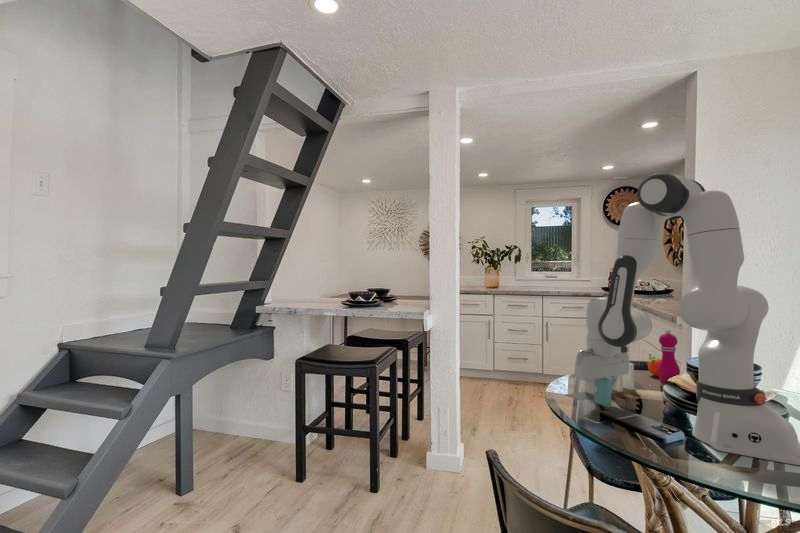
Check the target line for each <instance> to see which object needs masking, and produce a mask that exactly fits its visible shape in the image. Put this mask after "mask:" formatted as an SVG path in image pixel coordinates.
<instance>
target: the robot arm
mask: <svg viewBox="0 0 800 533" xmlns="http://www.w3.org/2000/svg"><path fill="white" fill-rule="evenodd" d="M636 194H637V196H636V197H637V200H638V201H637V202H634V203H633V202H632V203H631V204H628V205H627V206H626V207H625V208H624V210H623V212H622V215H621V220H620V222H619V223H620V224H619V227H618V233H617V244H616V251H615V252H616V253H615V258H614V265H613V269H612V273H611V276H610V277H611V278H610V283H609V288H608V295H607V296H606V297H597V298H593V299H591V300H589V301H588V303H587V306H586V313H585V314H586V320H585V321H586V323H585V324H586V328H587V334H586V349H580V351H578V353H577V354H576V359H575V364H574V377H575V378H576V379H577V380H580V381H584V382H585V381H586V382H587V384H588V386H589V391H590V392H591V393H597V387H595V385H594V383H595V379H600V378H606V377H610V378H611V390H615V384H616V382H617V380H618V376H619V375H626V374H628V372H629V363H630V355H629V354H628V353H629V352H630V346H628V345H629V344H631V343H634V342H637V341H639V340H643V339H644V338H646V337H648V336H649V335H650V333H651V331H652V329H653V328H652V327H653V325H652V324H653V323H652V320H651V318H650V316H649V315H648V314H647V313H645V311H643V310H640V309H637V308H633V307H632V306H633V302H634V294H635V290H636V289H635V288H636V285H637V282H638V280H639V278H640V277H641V275H642V274H644V272H646V271H647V270H648V269H649V268H650V267H652V266H653V265H654V264H655V263H656V262H657V258H658V255H659V250H660V245H661V233H662V229H663V228H662V226H663V224H664V223H665V222H666V221H667V220H668V221H676V220H679V219H683V220H684V223H685V228H686V237H687V244H688V251H689V252H688V253H689V260H690V261H689V262H690V264H689V265H690V269H689V277H688V282H687V288H686V291H685V292H684V294H683V296H682V297H681V299H679V303H678V313H679V316H680V318H681V320H682V321H683V322H684V323H686V325H688V326H690V327H692V328H694V329H697V330H702V331H706V332H707V333H706V334H705V335H706V336H705V338H704V341H703V343H702V344H701V346H700V347H699V349H698V351H697V358H698V360H697V361H698V362H697V363H698V364H697V366H698V380H696V383H695V384H696V385H695V390H696V391H695V395H696V401H697V411H696V412H697V413H696V417H695V418H696V419H695V423H694V425H693V429H692V432H691V434H692V436H693V437H695V439H697V440H699V441H701V442H703V443H705V444H708V446H711V447H712V448H713V449H715V450H717V451H719V452H724V453H730V454H734V455H735V454H736V455H741V456H746V457H751V458H758V459H762V460H763V459H764V460H766V461H767V460H768V461H774V462H778V463H783V464H788V465H795V466H800V442H799V437H798V435H797V434H798V433H797V432H796V429H795V427H794V426H793V424H792V423H791V422H790V421H788V419H786V418H784V417H783V416H782V415H780V414H779V413H777V411H775V410H774V409H773V408H771V407H769V406H768V405H766V400H767V396H766V393H765V391H764V389H760V388H758V387H756V386H755V382H754V381H755V380H754V377H755V376H754V373H755V372H754V369H755V368H754V367H755V366H754V357H755V351H756V350H755V349H756V346H757V341H758V337H759V334H760V330H761V326H762V323H763V320H764V319H765V318H766V317H767V315H768V312H769V301H768V300H767V298H766V297H765V296H764V294H762V293H761V292H760V291H759V290H755V289H754V288H750V287H747V286H744V285H738V278H739V273H740V270H741V267H742V265H743V264H744V262H745V254H744V248H743V241H742V233H741V228H740V223H739V219H738V214H737V212H736V208H735V205H734V203H733V201H732V199H731V196H730V195H728V194H727V193H726V192H724V191H720V190H716V189H715V190H706V189H705V186H703V185H702V184H701V183H700V182H698V181H696V180H693V179H689V178H688V177H685V176H682V175H678V174H671V173H667V172H660V173H655V174H652V175H649V176H648V177H646V178H645V179H644V180H642V182H640V184H639V186H638V188H637V192H636Z"/></svg>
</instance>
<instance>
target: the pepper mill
mask: <svg viewBox="0 0 800 533" xmlns="http://www.w3.org/2000/svg"><path fill="white" fill-rule="evenodd" d="M664 332H665V333H664V334H660V336H659V338H658V342H659V344H660V350H661V354H662V355H661V359H660V360H661V362H660V363H659V365H658V372H659V373H660V374H661V376H658V379H659V381H660V382H664V383H667V382H666V381H667V380H668V379H669V378H670V377H673V376H676V375H678V376H680V375H681V374H680V373H681V369H680V366H679V365H678V363H677V361H676V355H675V352H676V351H677V347H676V346H677V345H678V338H677V337H676V335H674V334H672V332H671V330H669V329H666V330H665V331H664Z"/></svg>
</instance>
